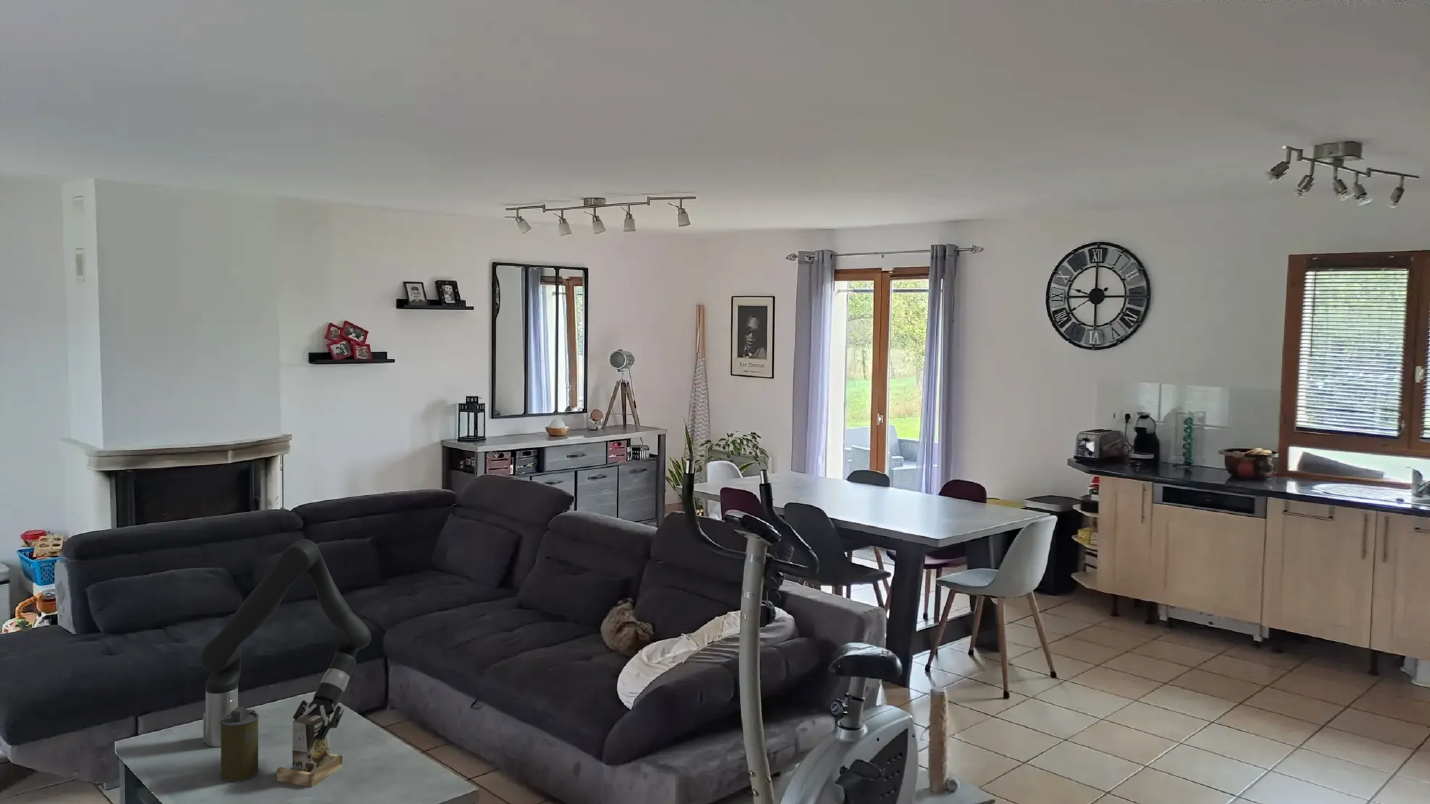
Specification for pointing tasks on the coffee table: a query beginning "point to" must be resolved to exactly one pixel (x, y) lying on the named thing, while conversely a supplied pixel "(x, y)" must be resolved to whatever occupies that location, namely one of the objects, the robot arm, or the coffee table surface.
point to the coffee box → (309, 743)
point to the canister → (239, 745)
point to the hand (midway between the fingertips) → (307, 737)
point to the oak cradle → (308, 777)
